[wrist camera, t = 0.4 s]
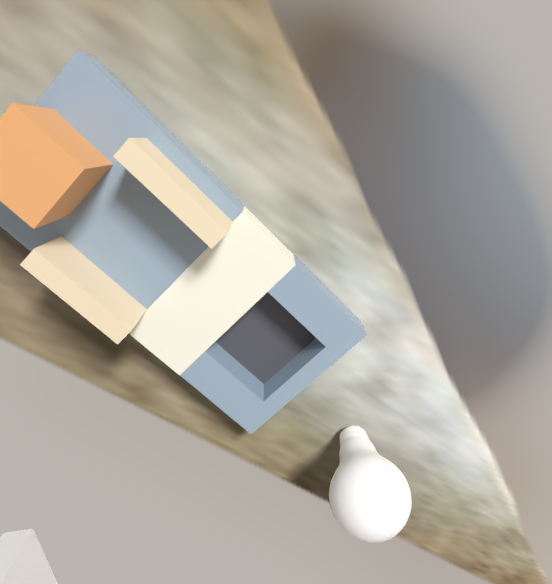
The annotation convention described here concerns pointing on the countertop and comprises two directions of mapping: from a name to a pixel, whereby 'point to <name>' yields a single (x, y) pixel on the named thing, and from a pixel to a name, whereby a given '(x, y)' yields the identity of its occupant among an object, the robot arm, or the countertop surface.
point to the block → (45, 164)
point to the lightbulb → (368, 490)
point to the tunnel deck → (172, 253)
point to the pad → (213, 293)
